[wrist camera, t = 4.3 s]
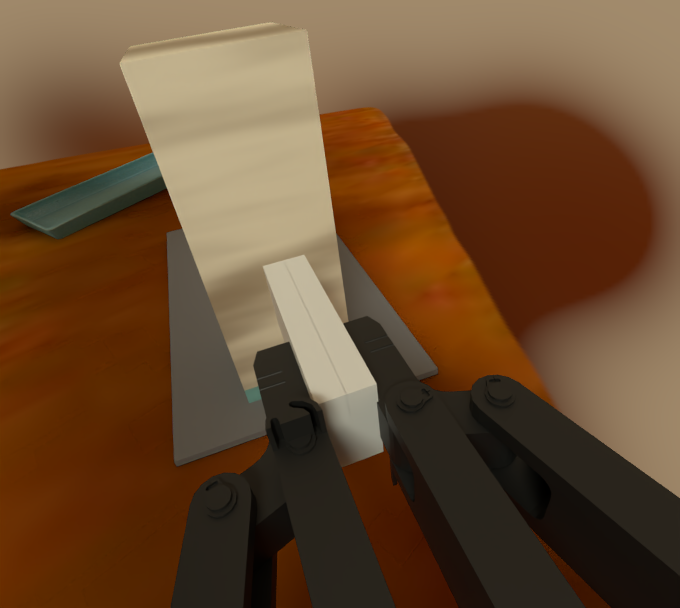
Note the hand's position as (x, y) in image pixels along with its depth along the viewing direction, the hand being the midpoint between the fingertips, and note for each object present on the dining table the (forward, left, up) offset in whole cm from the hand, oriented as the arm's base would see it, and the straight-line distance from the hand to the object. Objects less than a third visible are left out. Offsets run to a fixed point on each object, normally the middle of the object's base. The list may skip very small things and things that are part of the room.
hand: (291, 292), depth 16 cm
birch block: (-6, +3, -9) cm, 11 cm away
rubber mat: (-13, +7, -9) cm, 17 cm away
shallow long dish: (-43, +13, -10) cm, 46 cm away
